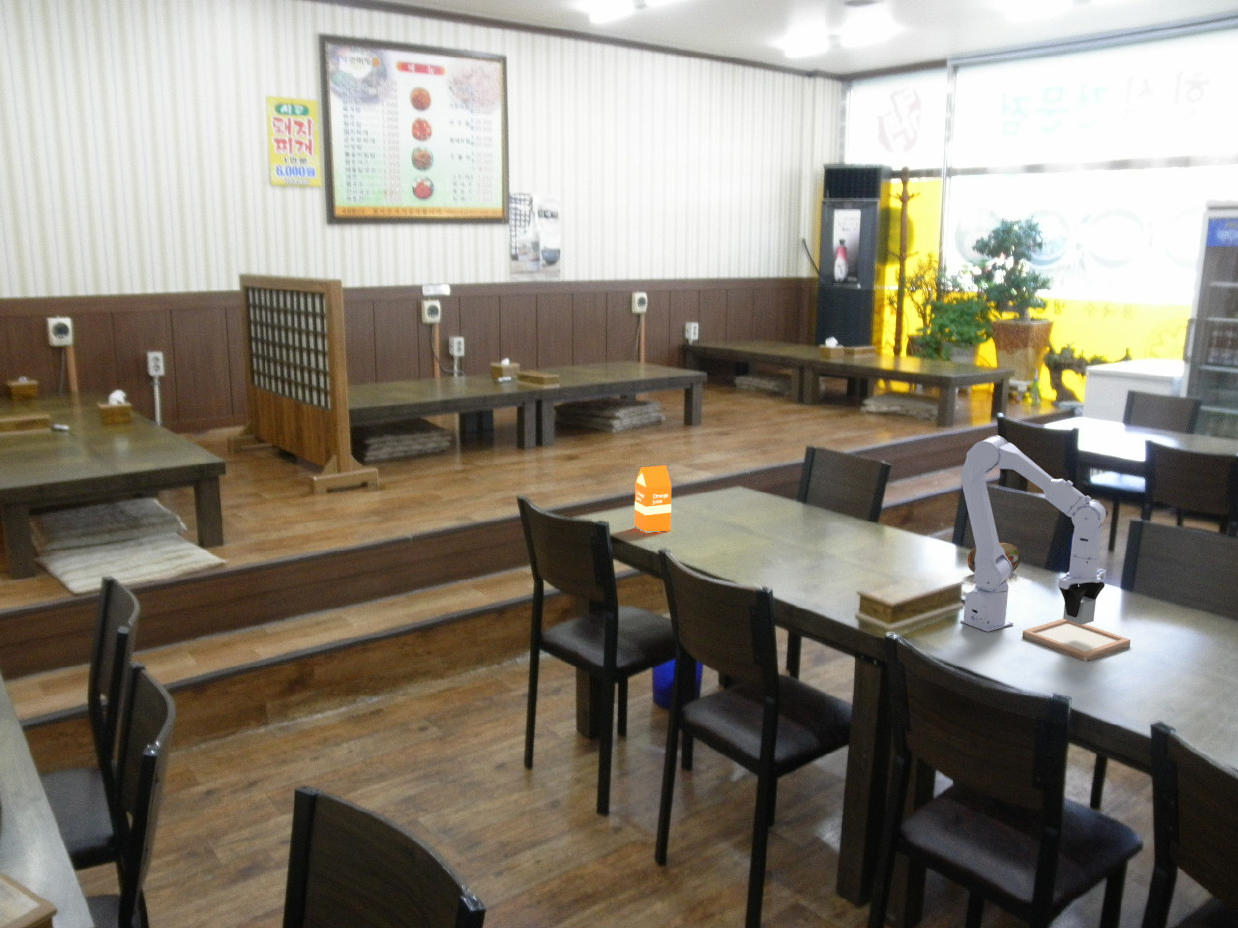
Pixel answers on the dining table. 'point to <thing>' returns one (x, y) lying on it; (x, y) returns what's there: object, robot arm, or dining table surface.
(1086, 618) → the block
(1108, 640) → the picture frame
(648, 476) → the orange juice
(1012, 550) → the tin
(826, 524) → the dining table surface
